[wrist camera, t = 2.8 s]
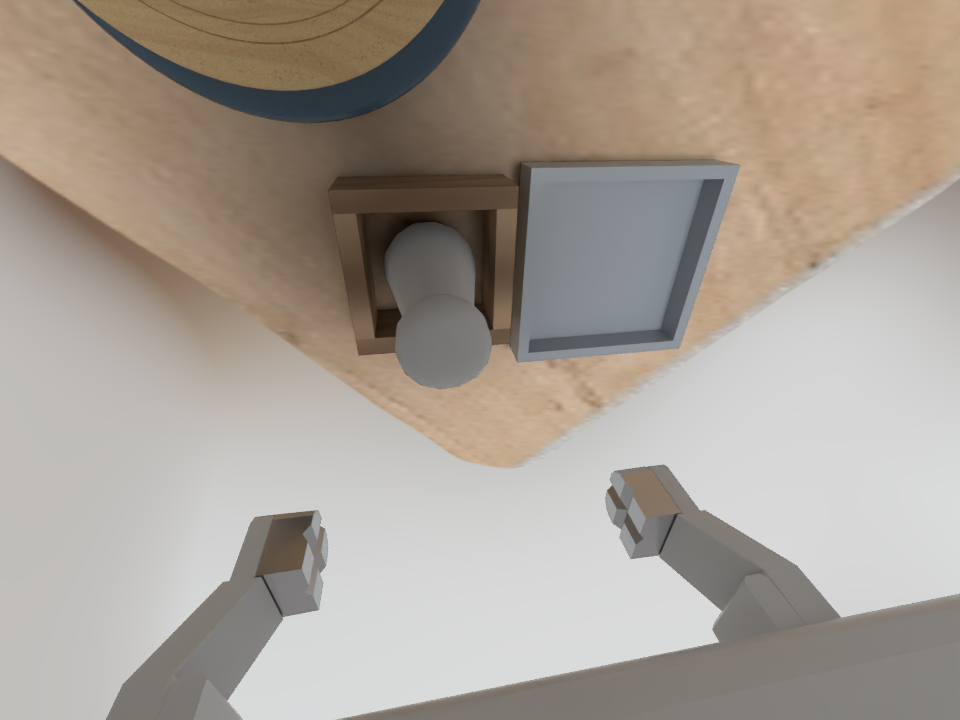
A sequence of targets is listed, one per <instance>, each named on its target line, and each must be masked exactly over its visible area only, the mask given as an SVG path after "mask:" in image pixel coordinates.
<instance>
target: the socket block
mask: <svg viewBox="0 0 960 720" xmlns="http://www.w3.org/2000/svg"><path fill="white" fill-rule="evenodd" d="M328 192H329V198H330V203H331V209H332V214H333V219H334V225H335V230H336V236H337V241H338V246H339V252H340V257H341V263H342V268H343V273H344V279H345V284H346V289H347V295H348V300H349V306H350V311H351V316H352V322H353V327H354V333H355V338H356V343H357V349H358V354H359V355H372V354H384V353H396V351H395V342H396V329H397V324H398V322H399V321H400V319H401V318H402V316H401V313H400V311H399V310H386V311H378V310H377V303H376V297H375V290H374V283H373V276H372V269H371V262H370V255H369V248H368V241H367V234H366V227H365V220H364V213H394V212H427V211H460V210H484V269H483V304H478V305H474V306H475V307H476V308H477V309H478V310H479V311H480V312H481V313H482V314H483V316H484V318H485V320H486V323H487V326H488V329H489V332H490V335H491V340H492V345H497V344H510V329H511V312H512V295H513V278H514V261H515V244H516V227H517V210H518V193H519V186H518V185H517V184H515V183H514V182H513V181H511V180H510V179H509V178H507V177H506V176H505V175H446V176H388V177H338V178H337V179H336V180H335V182H334V183H333V184H332V186H331V187H330V189H329V190H328Z"/></svg>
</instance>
